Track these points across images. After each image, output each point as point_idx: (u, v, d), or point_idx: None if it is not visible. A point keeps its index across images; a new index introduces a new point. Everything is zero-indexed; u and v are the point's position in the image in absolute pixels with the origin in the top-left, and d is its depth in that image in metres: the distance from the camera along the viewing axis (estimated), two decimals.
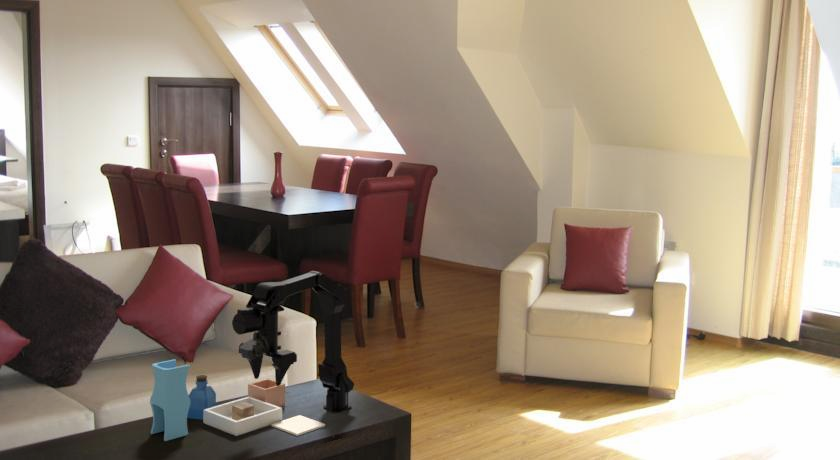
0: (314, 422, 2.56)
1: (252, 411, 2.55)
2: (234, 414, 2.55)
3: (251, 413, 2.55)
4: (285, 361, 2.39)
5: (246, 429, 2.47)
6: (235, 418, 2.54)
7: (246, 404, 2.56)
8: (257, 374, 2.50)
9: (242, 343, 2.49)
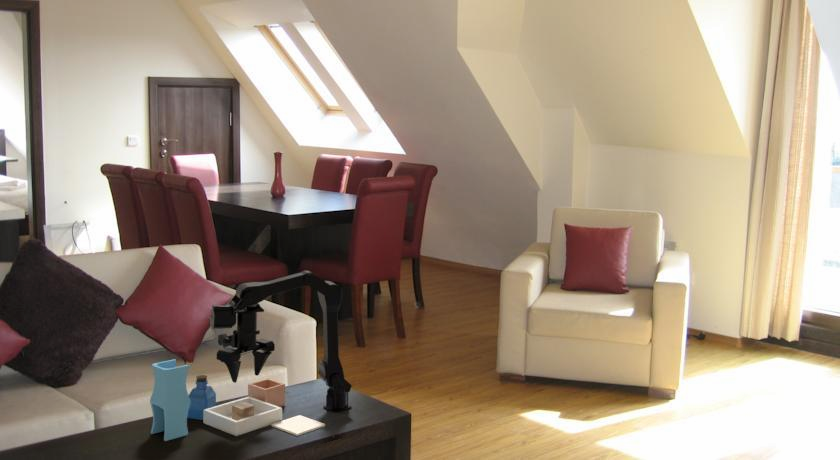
0: (314, 422, 2.56)
1: (252, 411, 2.55)
2: (234, 414, 2.55)
3: (251, 413, 2.55)
4: (218, 356, 2.48)
5: (246, 429, 2.47)
6: (235, 418, 2.54)
7: (246, 404, 2.56)
8: (256, 371, 2.60)
9: None
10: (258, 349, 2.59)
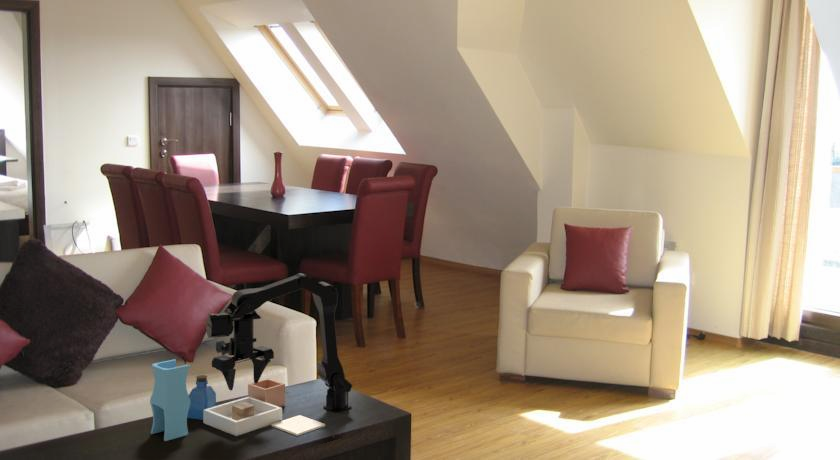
0: (314, 422, 2.56)
1: (252, 411, 2.55)
2: (234, 414, 2.55)
3: (251, 413, 2.55)
4: (213, 364, 2.47)
5: (246, 429, 2.47)
6: (235, 418, 2.54)
7: (246, 404, 2.56)
8: (255, 379, 2.58)
9: (260, 346, 2.61)
10: (257, 357, 2.57)
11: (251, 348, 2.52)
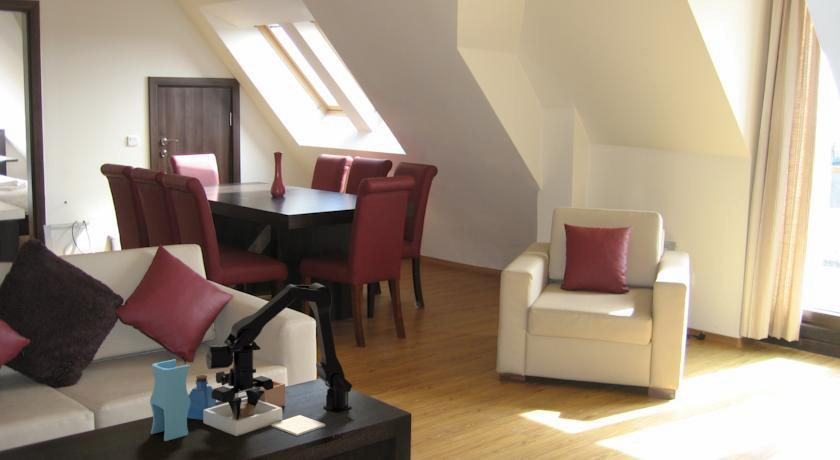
0: (314, 422, 2.56)
1: (252, 411, 2.55)
2: None
3: (251, 413, 2.55)
4: (213, 395, 2.48)
5: (246, 429, 2.47)
6: None
7: (246, 404, 2.56)
8: None
9: (260, 376, 2.62)
10: (250, 389, 2.56)
11: (251, 379, 2.53)
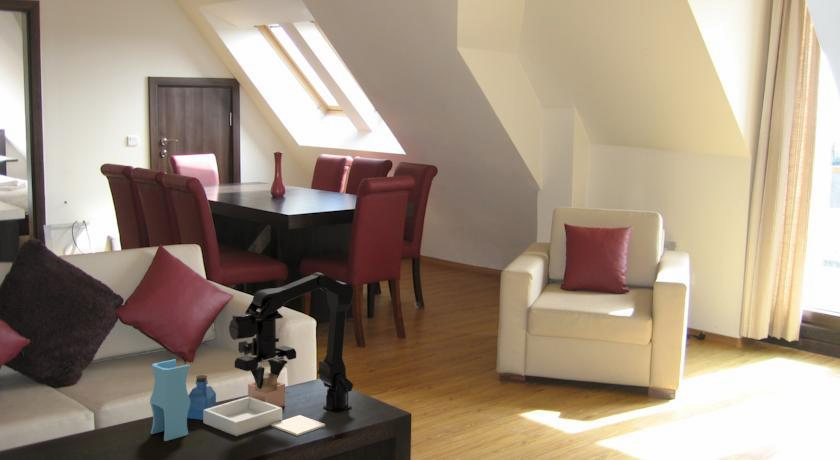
0: (314, 422, 2.56)
1: (275, 380, 2.53)
2: None
3: (275, 383, 2.53)
4: (236, 364, 2.47)
5: (246, 429, 2.47)
6: (258, 388, 2.52)
7: (269, 374, 2.54)
8: None
9: (282, 346, 2.60)
10: (273, 358, 2.54)
11: (274, 348, 2.51)
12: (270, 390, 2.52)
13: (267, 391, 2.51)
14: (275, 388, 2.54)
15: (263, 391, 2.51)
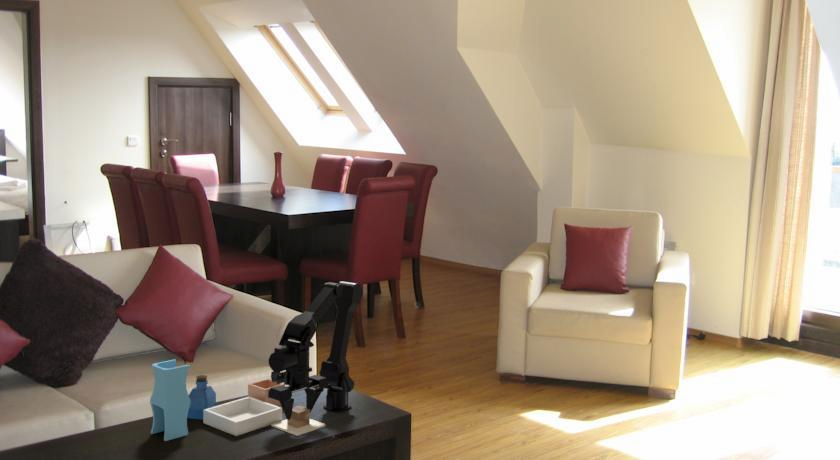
0: (314, 422, 2.56)
1: (308, 415, 2.53)
2: None
3: (307, 417, 2.53)
4: (270, 394, 2.46)
5: (246, 429, 2.47)
6: (291, 422, 2.52)
7: (301, 408, 2.54)
8: None
9: (314, 375, 2.60)
10: (310, 386, 2.55)
11: (307, 378, 2.51)
12: (303, 424, 2.52)
13: (300, 425, 2.51)
14: (307, 422, 2.53)
15: (296, 425, 2.51)
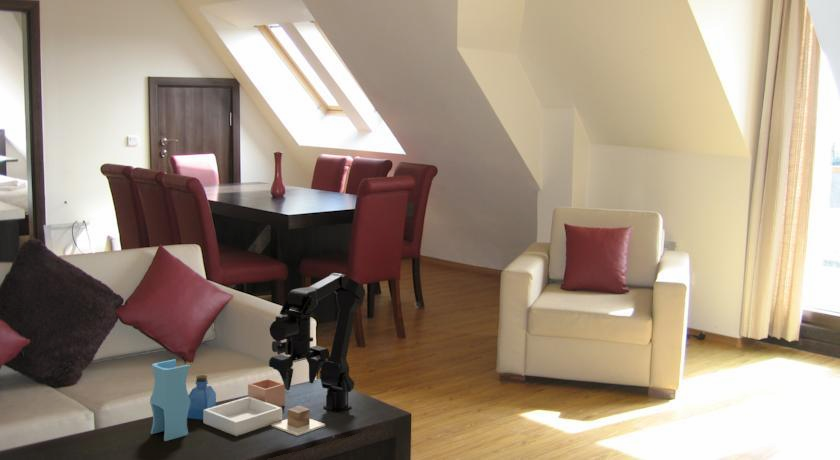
0: (314, 422, 2.56)
1: (308, 415, 2.53)
2: (289, 418, 2.53)
3: (307, 417, 2.53)
4: (271, 363, 2.45)
5: (246, 429, 2.47)
6: (291, 422, 2.52)
7: (301, 408, 2.54)
8: (311, 379, 2.55)
9: (315, 346, 2.59)
10: (312, 356, 2.55)
11: (308, 348, 2.50)
12: (303, 424, 2.52)
13: (300, 425, 2.51)
14: (307, 422, 2.53)
15: (296, 425, 2.51)
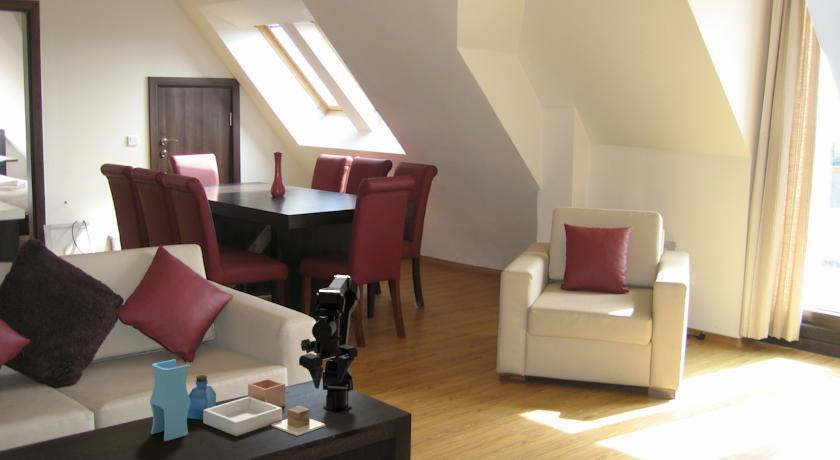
0: (314, 422, 2.56)
1: (308, 415, 2.53)
2: (289, 418, 2.53)
3: (307, 417, 2.53)
4: (301, 362, 2.47)
5: (246, 429, 2.47)
6: (291, 422, 2.52)
7: (301, 408, 2.54)
8: (339, 377, 2.58)
9: (343, 344, 2.61)
10: (341, 355, 2.57)
11: (337, 346, 2.52)
12: (303, 424, 2.52)
13: (300, 425, 2.51)
14: (307, 422, 2.53)
15: (296, 425, 2.51)
